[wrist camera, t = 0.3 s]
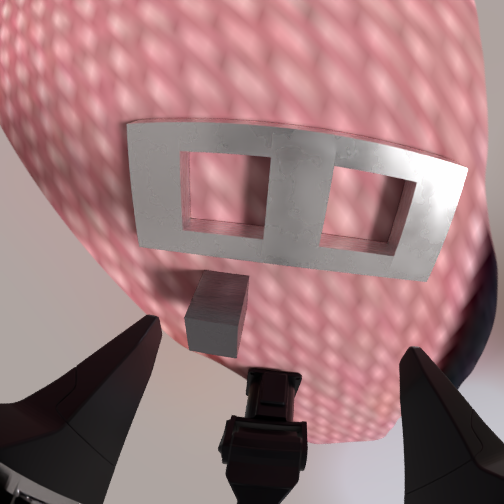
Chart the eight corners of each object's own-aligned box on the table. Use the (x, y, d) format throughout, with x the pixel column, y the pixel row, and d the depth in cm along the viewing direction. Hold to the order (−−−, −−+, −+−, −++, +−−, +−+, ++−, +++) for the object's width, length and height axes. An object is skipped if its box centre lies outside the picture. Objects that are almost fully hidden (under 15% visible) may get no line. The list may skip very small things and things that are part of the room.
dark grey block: (246, 308, 27) (236, 358, 22) (206, 302, 28) (189, 350, 23) (249, 275, 25) (238, 326, 20) (204, 269, 26) (184, 317, 20)
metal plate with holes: (419, 268, 22) (426, 281, 21) (149, 234, 24) (139, 246, 22) (455, 160, 17) (467, 168, 15) (139, 119, 19) (126, 123, 17)
